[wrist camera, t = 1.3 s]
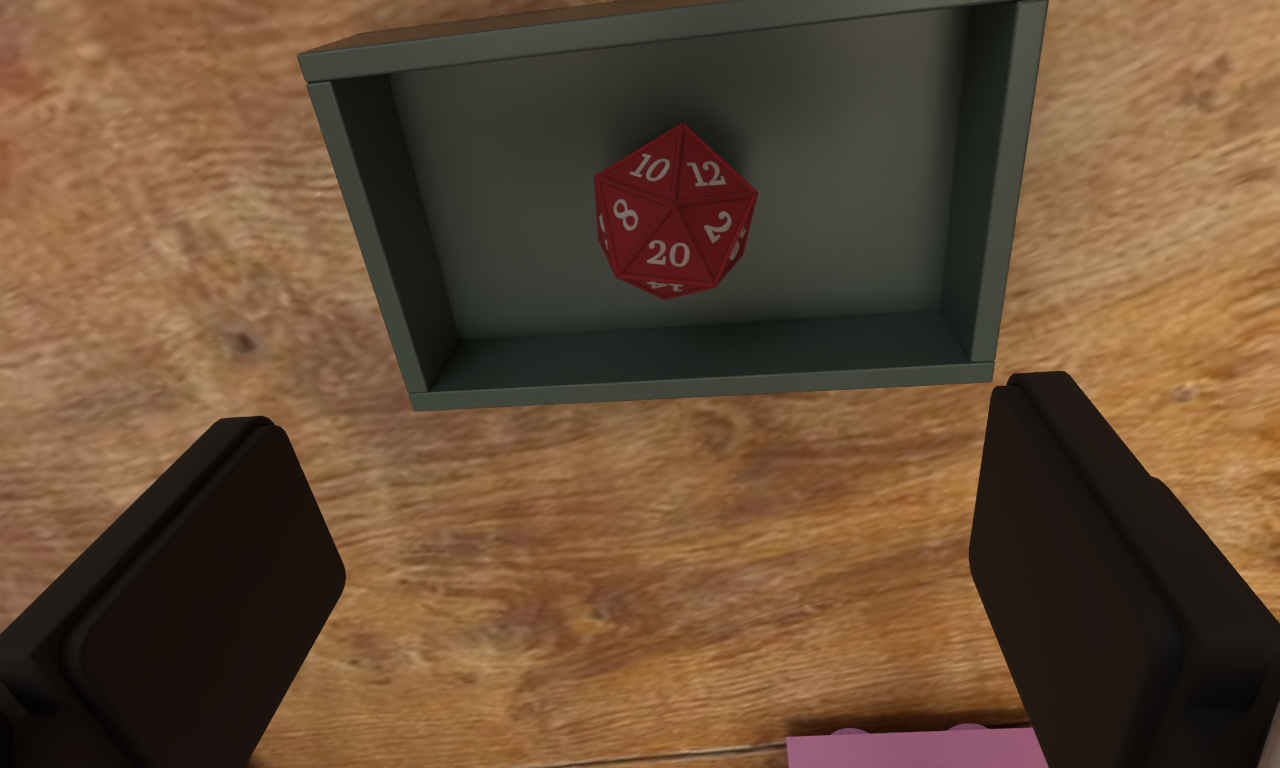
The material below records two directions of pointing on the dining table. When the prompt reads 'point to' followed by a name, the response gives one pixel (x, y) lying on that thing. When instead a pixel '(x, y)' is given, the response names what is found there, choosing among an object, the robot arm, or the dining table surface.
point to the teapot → (919, 749)
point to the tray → (742, 136)
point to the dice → (673, 215)
